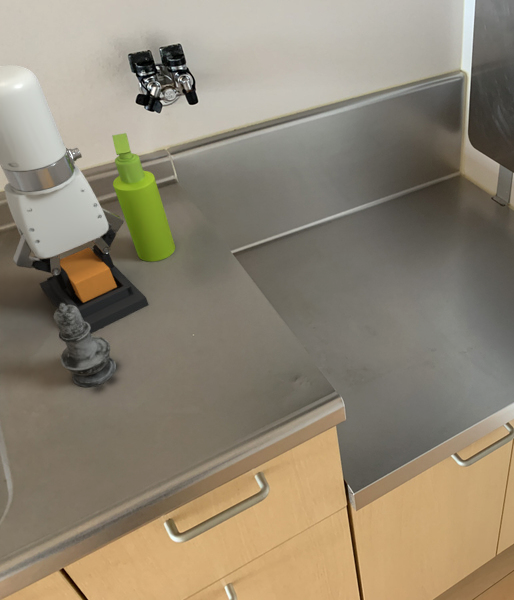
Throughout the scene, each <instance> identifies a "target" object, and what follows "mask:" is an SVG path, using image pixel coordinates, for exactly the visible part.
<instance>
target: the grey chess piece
mask: <svg viewBox="0 0 514 600" xmlns="http://www.w3.org/2000/svg"><path fill="white" fill-rule="evenodd" d="M59 307H60V308H58V309H57V308H56V310H55V311H54V313H53V319H54V322H55V324H56V326H57V327H58V330H59V333H58V336H59V339H60V340H61V341H62V342H64V343H65V345H66V347H65V349H64V350H63V351H62V352H61V355H60V359H59V361H60V364H61V366H63V367H64V369H67V370H68V371H69V372H70V373H72V381H73V383H75V385H77V386H79V387H82V388H92V387H96V386H97V387H98V386H100V385H102V384H103V383H105V382H107V381H108V380H109V379H110V378H112V377H113V375H114V374H115V373H116V369H117V365H116V362H115V360H114V359H113V358H111V357H110V353H111V345H110V342H109V341H108V340H107V339H106V338H103V337H101V336H93V335H92V333H90V325H89V324H88V323H87V322H85V321H84V320H83V318H82V316H81V314H80V311H79V309H78V308H77V307H76V306H73V305H65V304H63V303H60V305H59Z"/></svg>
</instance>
